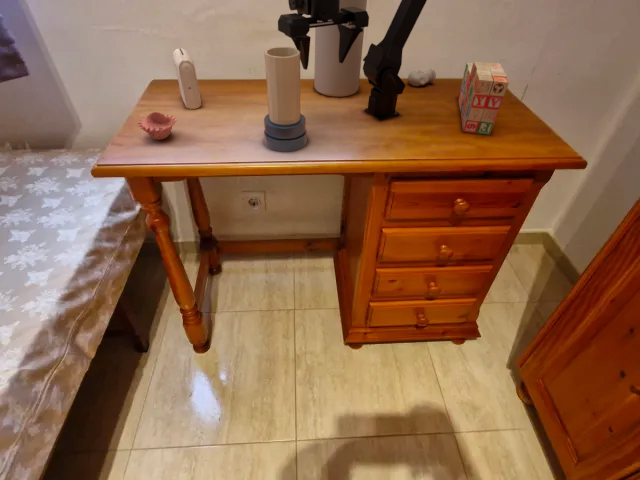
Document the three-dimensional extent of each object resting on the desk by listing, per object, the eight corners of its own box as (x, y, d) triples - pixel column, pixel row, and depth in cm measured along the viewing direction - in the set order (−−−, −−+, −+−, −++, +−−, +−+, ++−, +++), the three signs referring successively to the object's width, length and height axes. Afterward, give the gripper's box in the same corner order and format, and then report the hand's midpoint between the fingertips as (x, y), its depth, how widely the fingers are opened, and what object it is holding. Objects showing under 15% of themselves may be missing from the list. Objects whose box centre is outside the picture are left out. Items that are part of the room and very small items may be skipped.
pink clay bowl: (144, 130, 85) (136, 106, 81) (181, 128, 86) (175, 104, 83) (140, 147, 79) (131, 122, 76) (179, 144, 81) (173, 119, 77)
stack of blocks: (457, 97, 104) (470, 49, 96) (480, 99, 103) (495, 51, 95) (462, 132, 88) (479, 78, 80) (490, 135, 88) (509, 81, 79)
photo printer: (203, 107, 95) (193, 55, 87) (186, 110, 94) (174, 57, 85) (196, 93, 102) (187, 43, 93) (180, 95, 100) (169, 44, 92)
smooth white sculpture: (409, 91, 109) (404, 80, 112) (435, 89, 111) (429, 78, 113) (413, 78, 106) (408, 67, 108) (440, 76, 107) (434, 65, 109)
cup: (280, 109, 83) (277, 44, 74) (306, 115, 80) (306, 50, 72) (262, 120, 78) (257, 53, 70) (289, 127, 76) (287, 59, 67)
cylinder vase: (334, 78, 113) (340, -23, 96) (367, 89, 107) (379, -16, 90) (305, 88, 106) (305, -18, 89) (337, 101, 100) (344, -10, 83)
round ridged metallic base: (293, 128, 88) (293, 105, 84) (314, 145, 82) (314, 121, 78) (257, 137, 84) (255, 114, 80) (276, 155, 78) (275, 131, 75)
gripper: (342, -30, 80) (338, 50, 90) (262, -25, 72) (268, 61, 83) (374, -22, 73) (366, 63, 84) (290, -15, 65) (292, 77, 76)
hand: (323, 65), depth 82 cm, fingers open, 9 cm apart
